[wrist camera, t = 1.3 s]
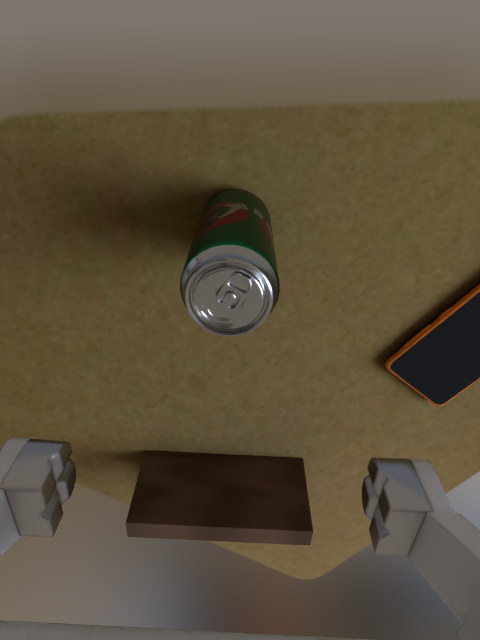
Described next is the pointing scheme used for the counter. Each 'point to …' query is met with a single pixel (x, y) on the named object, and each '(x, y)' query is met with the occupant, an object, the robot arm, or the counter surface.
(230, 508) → the brown rectangular block
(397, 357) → the smartphone
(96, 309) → the counter surface
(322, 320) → the counter surface
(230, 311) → the soda can
